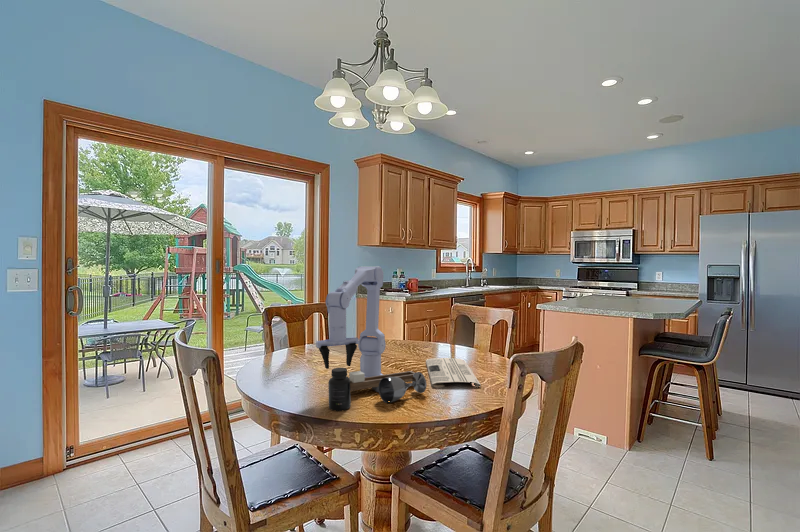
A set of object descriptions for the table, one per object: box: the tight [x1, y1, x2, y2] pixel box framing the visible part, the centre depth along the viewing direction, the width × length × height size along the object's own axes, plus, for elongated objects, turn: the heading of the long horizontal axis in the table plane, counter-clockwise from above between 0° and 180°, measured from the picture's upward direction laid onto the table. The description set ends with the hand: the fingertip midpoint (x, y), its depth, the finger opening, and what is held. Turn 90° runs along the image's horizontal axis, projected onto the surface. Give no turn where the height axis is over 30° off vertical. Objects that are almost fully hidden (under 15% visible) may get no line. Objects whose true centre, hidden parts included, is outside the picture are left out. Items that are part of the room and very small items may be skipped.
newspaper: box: [425, 357, 482, 389], centre depth 164 cm, size 37×19×3 cm, turn 0°
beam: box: [350, 370, 416, 393], centre depth 144 cm, size 6×28×4 cm, turn 117°
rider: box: [348, 370, 365, 383], centre depth 140 cm, size 4×4×4 cm
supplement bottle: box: [327, 367, 352, 412], centre depth 126 cm, size 7×7×12 cm
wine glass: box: [378, 371, 427, 404], centre depth 135 cm, size 8×8×15 cm
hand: (337, 366), depth 137 cm, fingers open, 7 cm apart
